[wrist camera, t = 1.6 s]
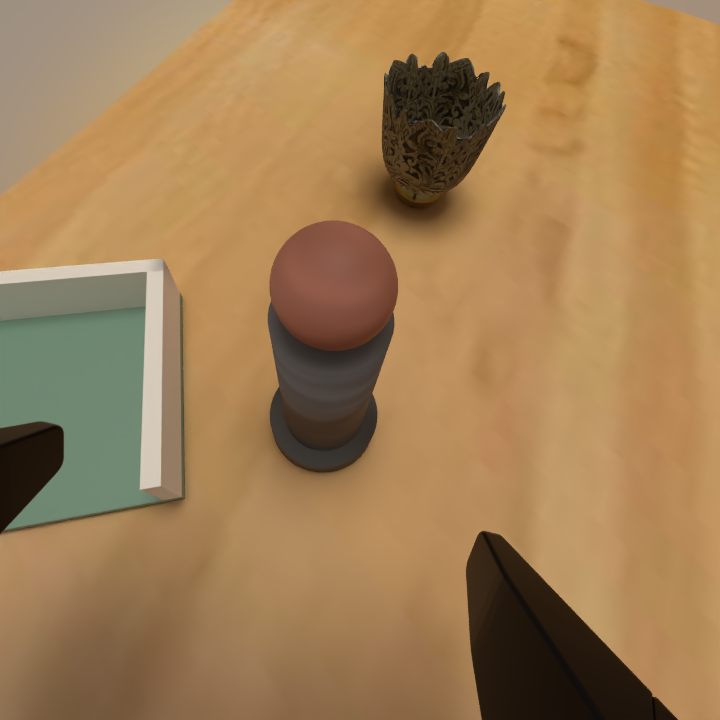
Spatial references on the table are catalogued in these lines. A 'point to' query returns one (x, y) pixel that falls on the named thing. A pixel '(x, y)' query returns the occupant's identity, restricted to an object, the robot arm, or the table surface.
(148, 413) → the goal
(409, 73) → the cup
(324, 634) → the table surface
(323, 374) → the player figure
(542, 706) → the robot arm
